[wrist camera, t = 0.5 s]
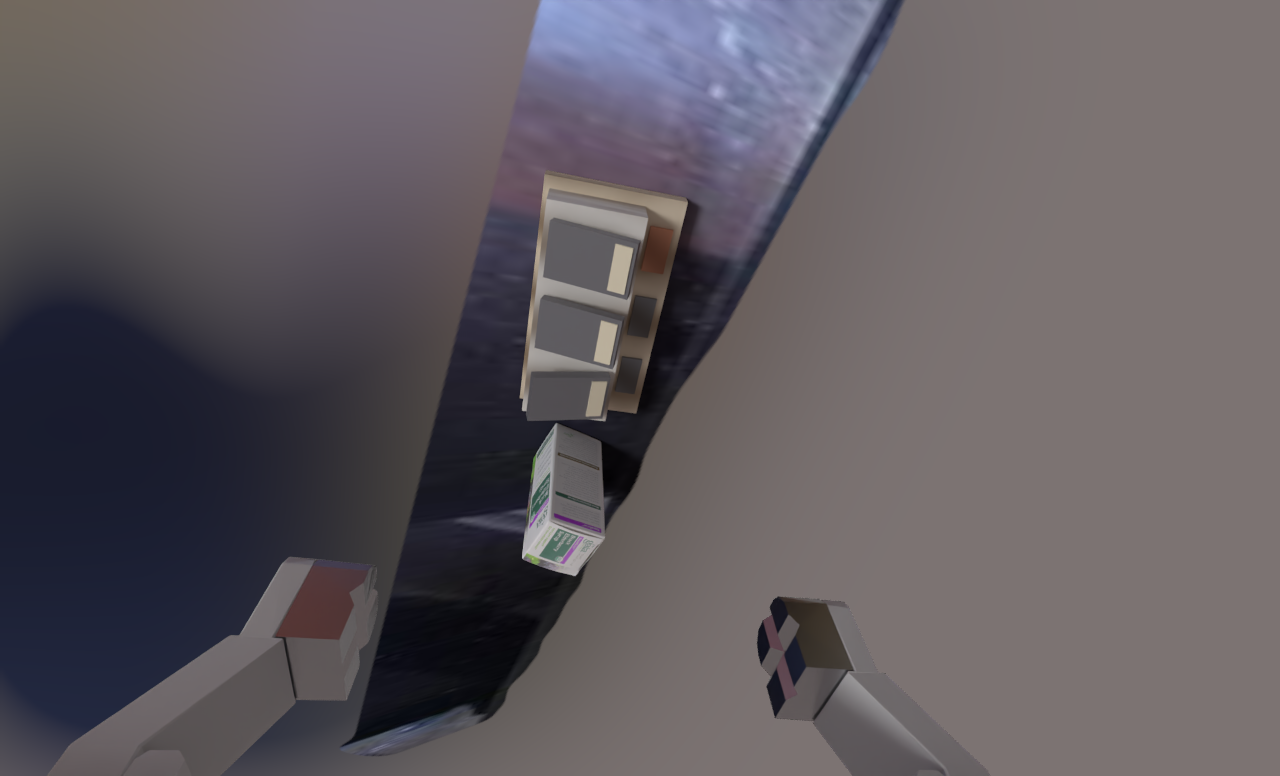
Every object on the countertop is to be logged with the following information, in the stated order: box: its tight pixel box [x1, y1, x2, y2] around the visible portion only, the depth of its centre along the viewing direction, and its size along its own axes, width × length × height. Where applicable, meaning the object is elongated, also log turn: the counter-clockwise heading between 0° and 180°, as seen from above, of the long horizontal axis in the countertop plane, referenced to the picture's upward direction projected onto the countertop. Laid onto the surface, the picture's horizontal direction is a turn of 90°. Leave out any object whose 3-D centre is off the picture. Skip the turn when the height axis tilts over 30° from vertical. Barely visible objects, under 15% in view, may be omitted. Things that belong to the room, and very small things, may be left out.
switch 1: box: [543, 218, 641, 300], centre depth 44 cm, size 5×7×1 cm, turn 78°
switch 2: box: [526, 371, 611, 421], centre depth 51 cm, size 5×7×1 cm, turn 78°
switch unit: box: [520, 170, 688, 421], centre depth 51 cm, size 22×12×6 cm, turn 168°
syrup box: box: [522, 423, 605, 576], centre depth 56 cm, size 6×6×14 cm
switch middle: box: [534, 295, 625, 369], centre depth 47 cm, size 5×7×1 cm, turn 78°
